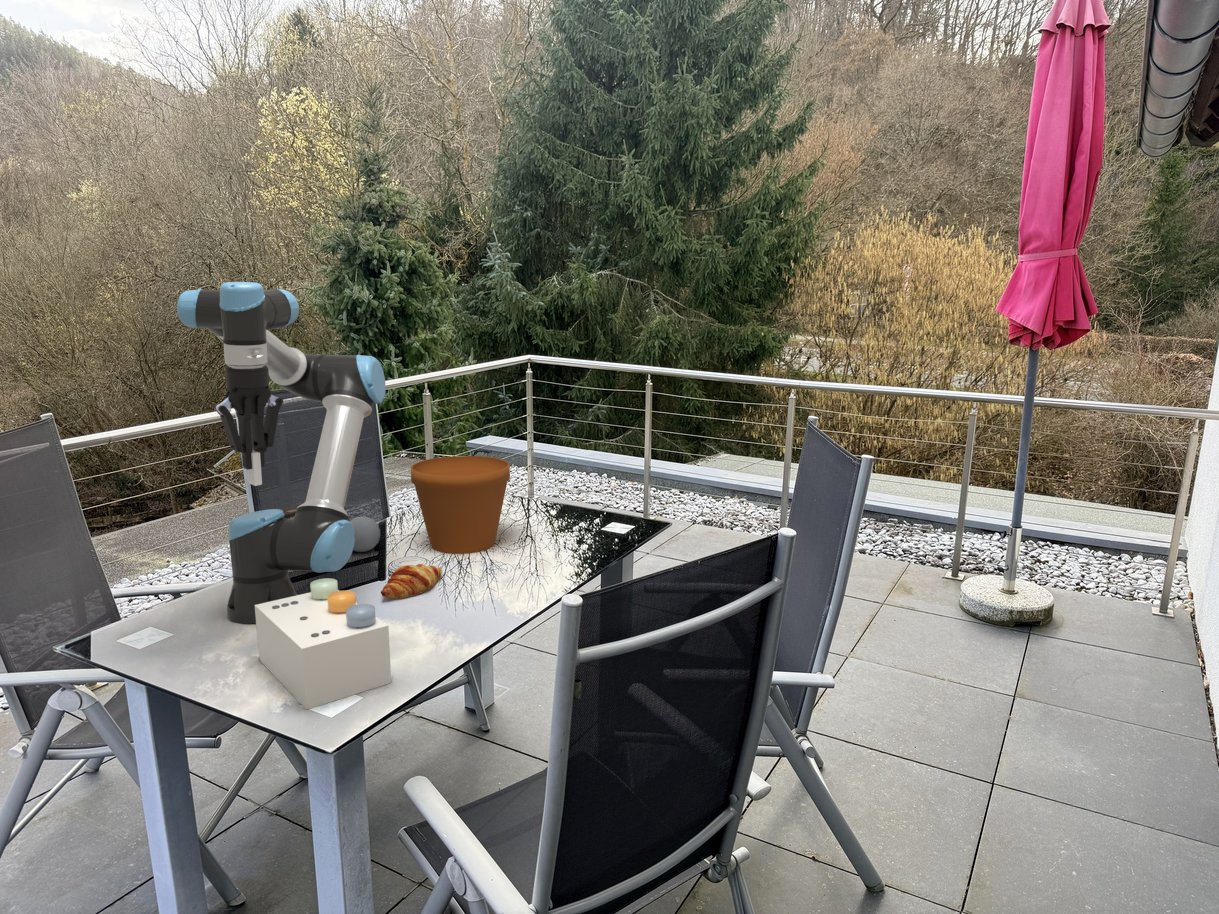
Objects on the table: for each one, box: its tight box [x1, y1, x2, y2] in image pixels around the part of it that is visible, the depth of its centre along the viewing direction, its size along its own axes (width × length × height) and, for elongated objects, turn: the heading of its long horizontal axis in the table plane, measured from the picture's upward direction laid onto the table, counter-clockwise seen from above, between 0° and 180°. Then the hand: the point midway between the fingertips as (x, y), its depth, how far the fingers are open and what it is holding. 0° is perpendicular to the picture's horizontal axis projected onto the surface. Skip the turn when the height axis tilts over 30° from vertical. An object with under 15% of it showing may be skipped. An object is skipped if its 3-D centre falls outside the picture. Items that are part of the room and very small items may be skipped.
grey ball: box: [349, 516, 381, 553], centre depth 230 cm, size 10×10×10 cm
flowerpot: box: [410, 455, 511, 555], centre depth 236 cm, size 28×28×24 cm
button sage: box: [309, 577, 339, 600], centre depth 166 cm, size 5×5×6 cm
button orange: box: [327, 590, 357, 613], centre depth 159 cm, size 5×5×6 cm
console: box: [255, 589, 392, 711], centre depth 157 cm, size 16×26×12 cm, turn 40°
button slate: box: [346, 603, 377, 628], centre depth 152 cm, size 5×5×6 cm
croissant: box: [380, 563, 443, 599], centre depth 202 cm, size 21×10×8 cm, turn 153°
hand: (255, 483), depth 161 cm, fingers closed
